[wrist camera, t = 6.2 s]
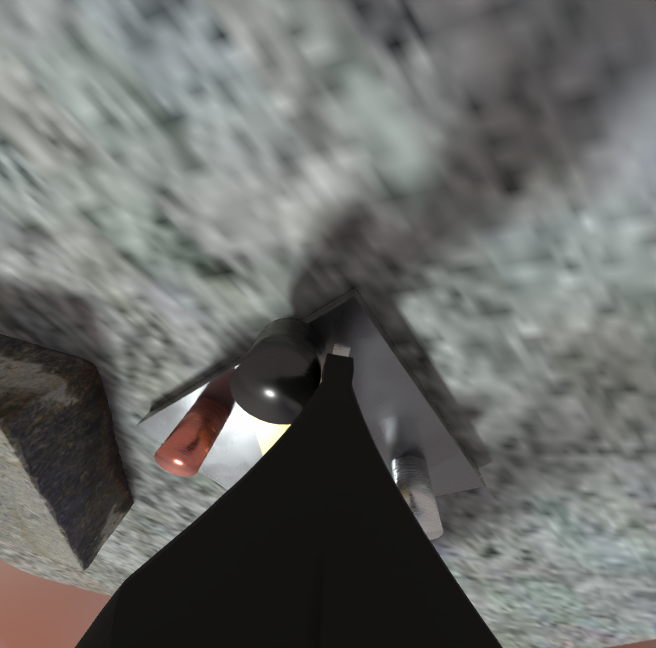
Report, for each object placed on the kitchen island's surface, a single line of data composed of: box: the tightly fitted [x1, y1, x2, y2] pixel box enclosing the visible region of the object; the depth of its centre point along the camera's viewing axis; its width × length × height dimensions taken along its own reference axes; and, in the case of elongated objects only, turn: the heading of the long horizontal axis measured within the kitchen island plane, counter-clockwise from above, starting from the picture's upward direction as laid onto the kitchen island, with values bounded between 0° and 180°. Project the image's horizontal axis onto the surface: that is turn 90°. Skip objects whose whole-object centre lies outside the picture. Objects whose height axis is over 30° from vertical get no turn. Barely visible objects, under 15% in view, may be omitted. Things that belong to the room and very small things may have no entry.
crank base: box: [137, 287, 486, 540], centre depth 14 cm, size 16×14×4 cm
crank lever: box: [230, 318, 326, 455], centre depth 11 cm, size 12×4×3 cm, turn 3°
